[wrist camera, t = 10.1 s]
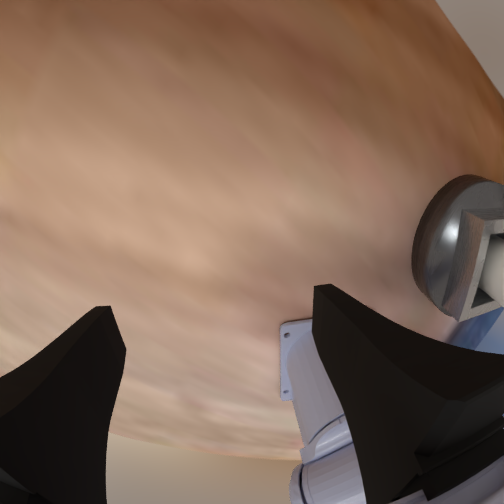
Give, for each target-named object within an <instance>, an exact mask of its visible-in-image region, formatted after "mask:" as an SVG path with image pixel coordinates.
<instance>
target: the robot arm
mask: <svg viewBox="0 0 504 504" xmlns="http://www.w3.org/2000/svg"><path fill="white" fill-rule="evenodd" d="M285 333H288V334H287V335H284V334H285ZM125 356H126V347H125V344H124V342H123V339H122V337H121V334H120V331H119V329H118V326H117V323H116V320H115V317H114V315H113V312H112V309H111V306H96V307H94V308H93V309H91V310H90V311H89V312H87V313H86V314H85V315H84V316H82V317H81V318H80V319H79V320H78V321H76V322H75V323H74V324H73V325H72V326H71V327H69V328H68V329H67V330H66V331H65V332H63V333H62V334H61V335H60V336H59V337H58V338H56V339H55V340H54V341H53V342H51V343H50V344H49V345H48V346H46V347H45V348H44V349H43V350H42V351H40V352H39V353H38V354H36V355H35V356H34V357H32V358H31V359H30V360H28V361H27V362H25V363H24V364H22V365H21V366H19V367H18V368H16V369H14V370H13V371H11V372H9V373H7V374H6V375H4V376H2V377H0V504H107V499H106V451H107V440H108V431H109V425H110V420H111V416H112V412H113V408H114V405H115V401H116V397H117V394H118V390H119V386H120V382H121V379H122V375H123V370H124V364H125ZM280 398H281V400H282V401H289V400H292V402H293V406H294V410H295V413H296V417H297V421H298V425H299V428H300V432H301V436H302V440H303V443H304V446H305V447H304V448H302V449H300V454H301V458H302V462H303V463H301V464H299V465H297V466H296V467H295V468H294V470H293V472H292V475H291V480H290V485H289V495H290V500H291V504H504V429H503V428H504V417H503V416H502V415H503V414H504V355H502V354H495V353H487V352H480V351H475V350H470V349H465V348H461V347H457V346H453V345H450V344H447V343H443V342H440V341H437V340H434V339H431V338H429V337H426V336H423V335H421V334H419V333H416V332H414V331H412V330H409V329H407V328H405V327H403V326H401V325H399V324H397V323H395V322H393V321H391V320H389V319H387V318H386V317H384V316H382V315H380V314H379V313H377V312H375V311H373V310H372V309H370V308H368V307H367V306H365V305H364V304H362V303H361V302H359V301H357V300H356V299H354V298H353V297H351V296H350V295H348V294H347V293H345V292H344V291H342V290H340V289H339V288H337V287H336V286H334V285H332V284H325V285H317V286H314V298H313V317H312V319H308V320H301V321H294V322H287V323H283V324H282V325H281V326H280Z"/></svg>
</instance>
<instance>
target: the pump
mask: <svg viewBox="0 0 504 504" xmlns="http://www.w3.org/2000/svg"><path fill="white" fill-rule="evenodd" d="M478 287H479V288H481V289H482V290H483V291H484V292H486V293H487V294H488V295H489V296H490V297H492V298H493V299H494V300H495V301H496V302H498V303H499V304H500V305H501V306H502V307H503V308H504V239H502V238H500V237H498V236H497V235H495V234H490V239H489V243H488V248H487V252H486V257H485V261H484V265H483V269H482V272H481V276H480V280H479V283H478Z"/></svg>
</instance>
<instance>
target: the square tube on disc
mask: <svg viewBox="0 0 504 504" xmlns="http://www.w3.org/2000/svg"><path fill="white" fill-rule="evenodd" d="M490 234H495V235H497V236H498V237H500V238H502V239H504V185H502V184H499V183H496V182H494V181H491V180H488V179H485V178H483V177H480V176H477V175H463V176H459V177H457V178H455V179H453V180H451V181H450V182H448V183H447V184H446V185H445V186H443V187H442V188H441V189H440V190H439V191H438V193H437V194H436V195H435V196H434V197H433V199H432V200H431V202H430V203H429V205H428V206H427V208H426V210H425V212H424V214H423V216H422V218H421V220H420V223H419V225H418V228H417V231H416V234H415V238H414V243H413V249H412V271H413V276H414V279H415V282H416V284H417V286H418V288H419V289H420V290H421V291H422V292H423V293H424V294H425V295H426V296H427V297H428V298H429V299H430V300H431V301H432V302H433V303H434V304H435V305H436V306H437V307H438V308H439V309H440V310H441V311H442V312H443V313H444V314H446V315H448V316H452V317H454V318H455V319H456V320H457V321H458V322H461V321H464V320H467V319H470V318H473V317H475V316H478V315H481V314H484V313H486V312H489V311H492V310H494V309H497V308H499V307H502V306H501V305H500V304H499V303H498V302H496V301H495V300H494V299H493V298H492V297H490V296H489V295H488V294H487V293H486V292H484V291H483V290H482V289H481V288H479V287H478V283H479V280H480V276H481V272H482V269H483V265H484V261H485V257H486V252H487V248H488V243H489V239H490Z"/></svg>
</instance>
